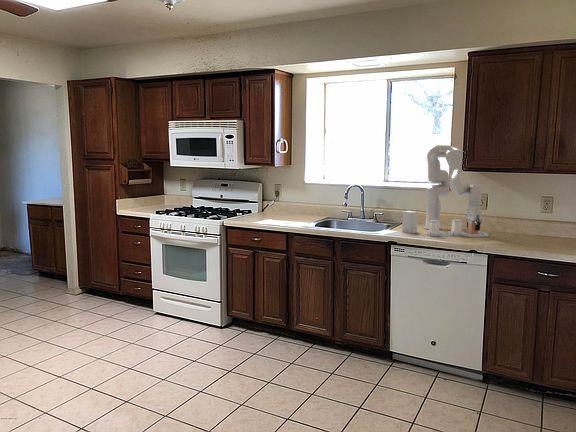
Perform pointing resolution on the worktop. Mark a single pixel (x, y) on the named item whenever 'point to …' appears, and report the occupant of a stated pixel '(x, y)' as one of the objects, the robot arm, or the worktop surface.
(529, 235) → the worktop surface
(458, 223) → the right fuse
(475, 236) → the tray
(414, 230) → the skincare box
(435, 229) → the left fuse
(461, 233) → the fuse board
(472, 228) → the marked fuse
